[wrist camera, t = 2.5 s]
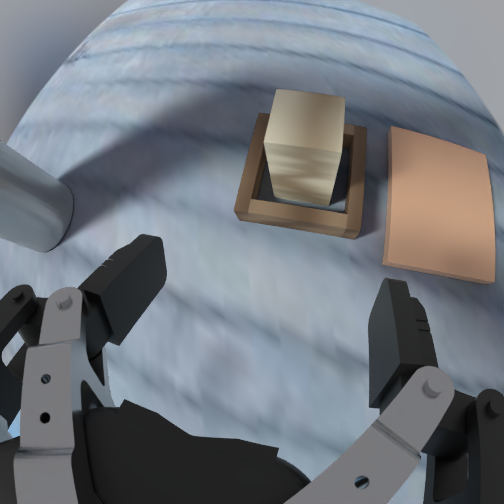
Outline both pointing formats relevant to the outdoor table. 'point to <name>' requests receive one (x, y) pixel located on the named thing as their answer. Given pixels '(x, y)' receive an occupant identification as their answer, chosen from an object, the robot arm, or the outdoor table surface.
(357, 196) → the walnut pocket frame
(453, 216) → the terracotta tile
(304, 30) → the outdoor table surface
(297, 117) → the ash block
